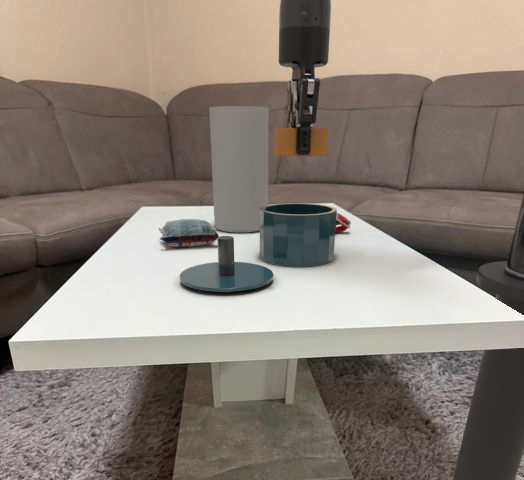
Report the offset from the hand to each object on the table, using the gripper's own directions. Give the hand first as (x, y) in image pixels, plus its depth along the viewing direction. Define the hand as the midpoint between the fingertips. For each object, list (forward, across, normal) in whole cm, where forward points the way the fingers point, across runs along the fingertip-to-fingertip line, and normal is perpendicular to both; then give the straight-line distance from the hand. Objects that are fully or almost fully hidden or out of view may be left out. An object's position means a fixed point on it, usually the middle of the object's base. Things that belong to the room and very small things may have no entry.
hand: (299, 153), depth 75 cm
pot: (+17, 0, 0) cm, 17 cm away
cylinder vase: (+18, +28, +8) cm, 34 cm away
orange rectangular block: (0, 0, 0) cm, 0 cm away
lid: (+17, -12, +13) cm, 25 cm away
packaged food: (+18, +13, +19) cm, 29 cm away
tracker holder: (+18, +19, -10) cm, 28 cm away
